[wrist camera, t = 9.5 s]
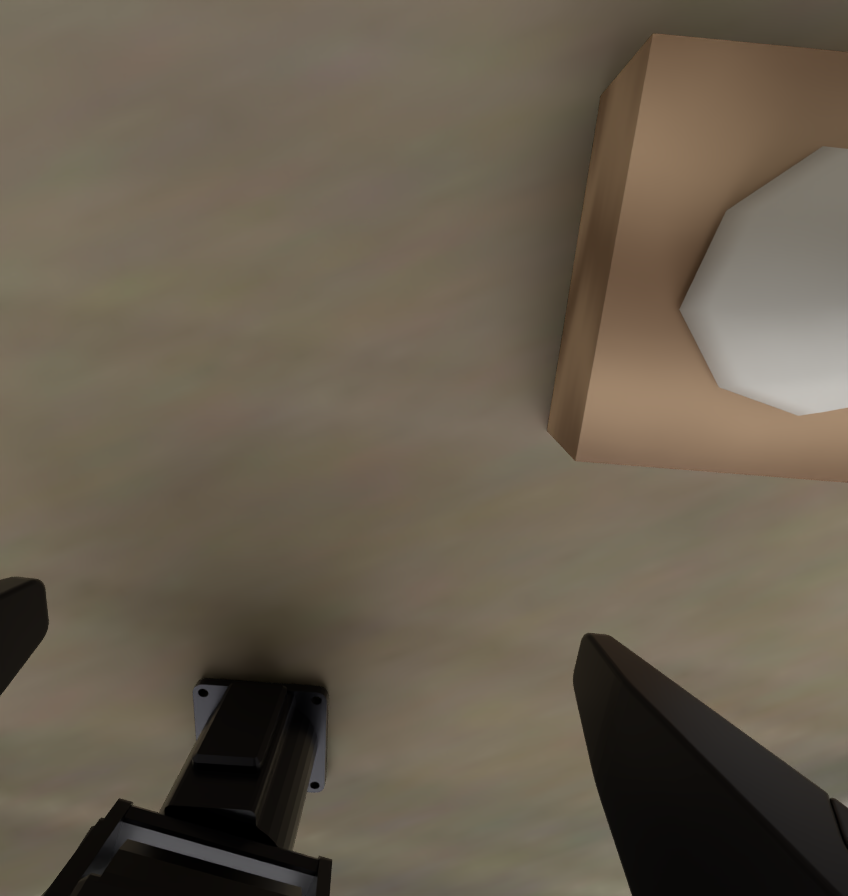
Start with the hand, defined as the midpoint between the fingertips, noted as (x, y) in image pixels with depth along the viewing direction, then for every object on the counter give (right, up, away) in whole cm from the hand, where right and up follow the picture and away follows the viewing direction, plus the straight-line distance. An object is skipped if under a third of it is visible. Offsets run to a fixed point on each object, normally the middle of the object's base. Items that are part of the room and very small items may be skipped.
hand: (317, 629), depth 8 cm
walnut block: (+13, +9, +10) cm, 19 cm away
